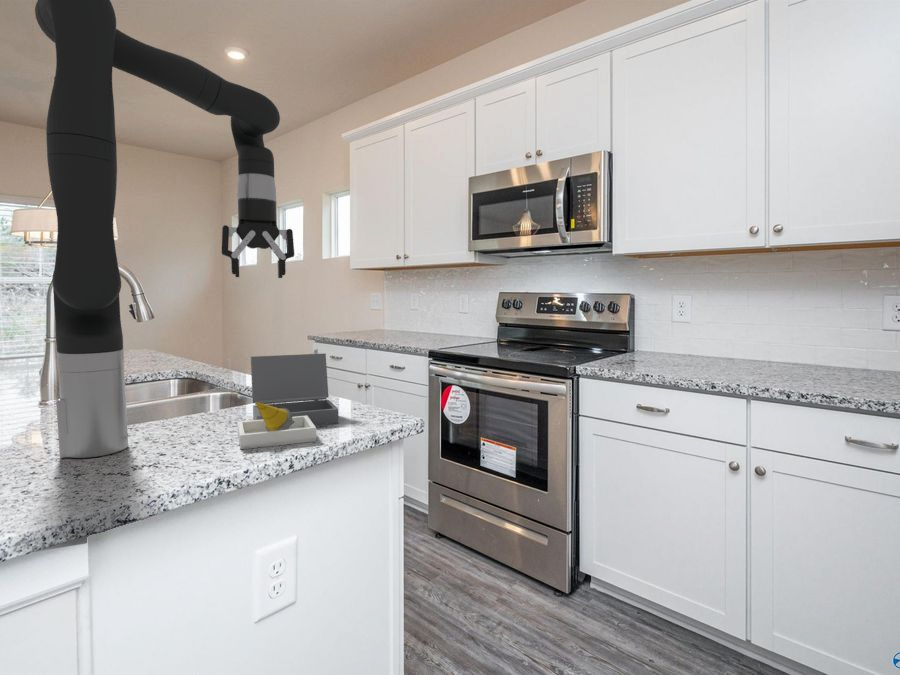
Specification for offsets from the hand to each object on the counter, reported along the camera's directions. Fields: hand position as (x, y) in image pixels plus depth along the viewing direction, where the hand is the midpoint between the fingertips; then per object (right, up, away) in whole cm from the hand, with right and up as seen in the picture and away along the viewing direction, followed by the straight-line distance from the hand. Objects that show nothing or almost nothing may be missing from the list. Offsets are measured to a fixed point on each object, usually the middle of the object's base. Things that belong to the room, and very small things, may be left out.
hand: (259, 277), depth 110 cm
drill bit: (+8, -31, -12) cm, 34 cm away
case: (+8, -30, 0) cm, 31 cm away
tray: (+8, -32, -12) cm, 35 cm away
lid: (+5, -22, +4) cm, 23 cm away
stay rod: (+9, -29, +11) cm, 33 cm away
